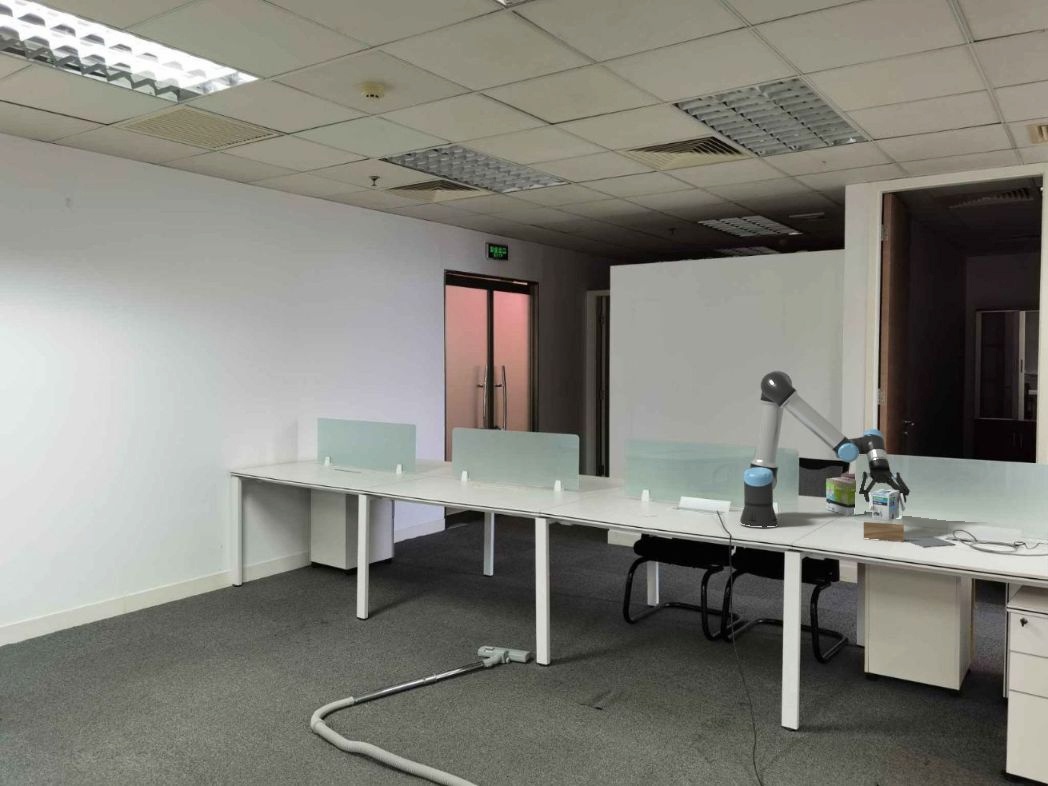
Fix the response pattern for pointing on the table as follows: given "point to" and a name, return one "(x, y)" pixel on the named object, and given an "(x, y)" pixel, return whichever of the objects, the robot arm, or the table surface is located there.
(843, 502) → the tea box
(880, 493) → the light bulb box
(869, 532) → the oak screen
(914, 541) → the charcoal mat
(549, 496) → the table surface
